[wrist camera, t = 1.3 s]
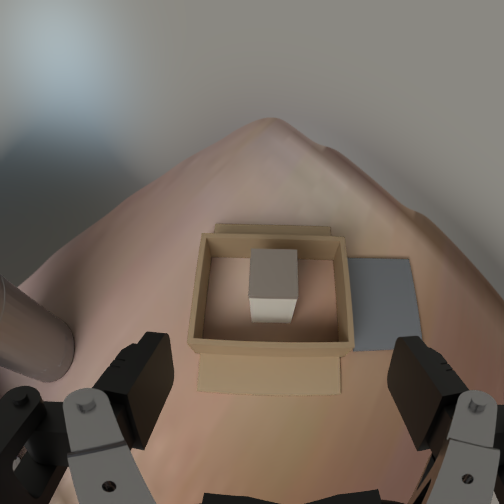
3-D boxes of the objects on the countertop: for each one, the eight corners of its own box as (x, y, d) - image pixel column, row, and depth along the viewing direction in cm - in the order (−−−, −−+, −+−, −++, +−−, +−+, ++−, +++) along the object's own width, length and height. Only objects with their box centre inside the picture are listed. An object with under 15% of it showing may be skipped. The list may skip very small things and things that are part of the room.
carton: (191, 390, 32) (182, 385, 28) (211, 225, 43) (206, 204, 39) (345, 394, 31) (356, 389, 27) (334, 228, 42) (340, 207, 39)
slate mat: (353, 351, 34) (354, 350, 33) (345, 260, 40) (346, 257, 39) (420, 347, 33) (422, 345, 33) (407, 261, 39) (408, 259, 39)
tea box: (251, 322, 36) (248, 295, 29) (253, 282, 39) (251, 248, 32) (291, 323, 36) (298, 296, 29) (290, 283, 38) (297, 249, 32)
